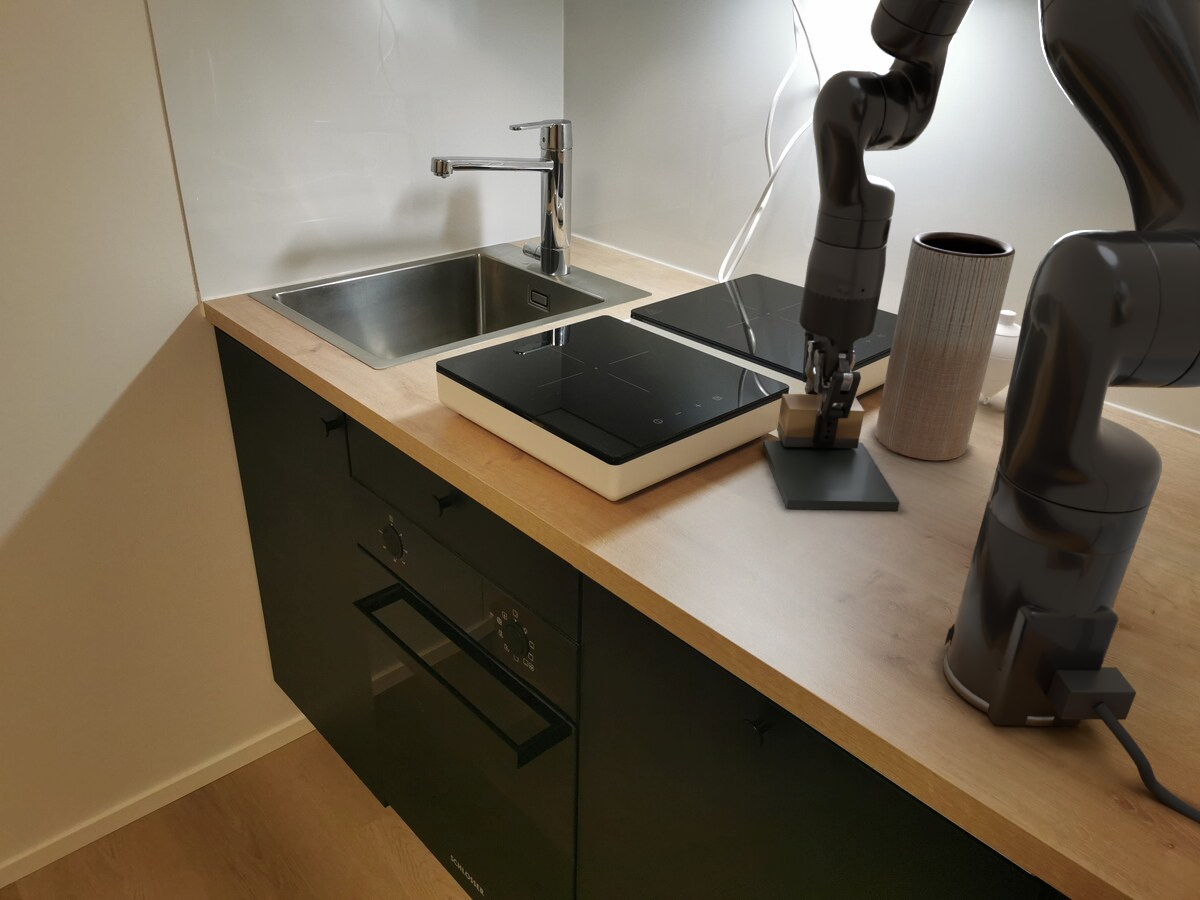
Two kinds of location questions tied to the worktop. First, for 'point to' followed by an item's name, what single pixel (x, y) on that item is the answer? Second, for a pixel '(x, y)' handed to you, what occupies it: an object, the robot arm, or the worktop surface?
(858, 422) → the eraser
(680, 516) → the worktop surface
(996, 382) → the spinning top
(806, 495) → the slate board
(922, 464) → the worktop surface
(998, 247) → the planter
